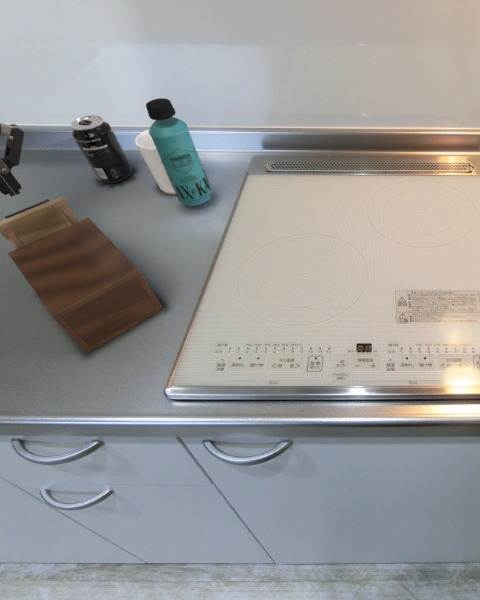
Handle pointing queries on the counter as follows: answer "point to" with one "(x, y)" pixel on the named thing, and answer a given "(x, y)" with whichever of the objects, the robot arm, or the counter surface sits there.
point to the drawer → (37, 222)
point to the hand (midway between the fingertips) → (14, 193)
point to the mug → (154, 161)
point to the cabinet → (86, 283)
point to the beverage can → (101, 148)
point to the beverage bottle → (178, 153)
